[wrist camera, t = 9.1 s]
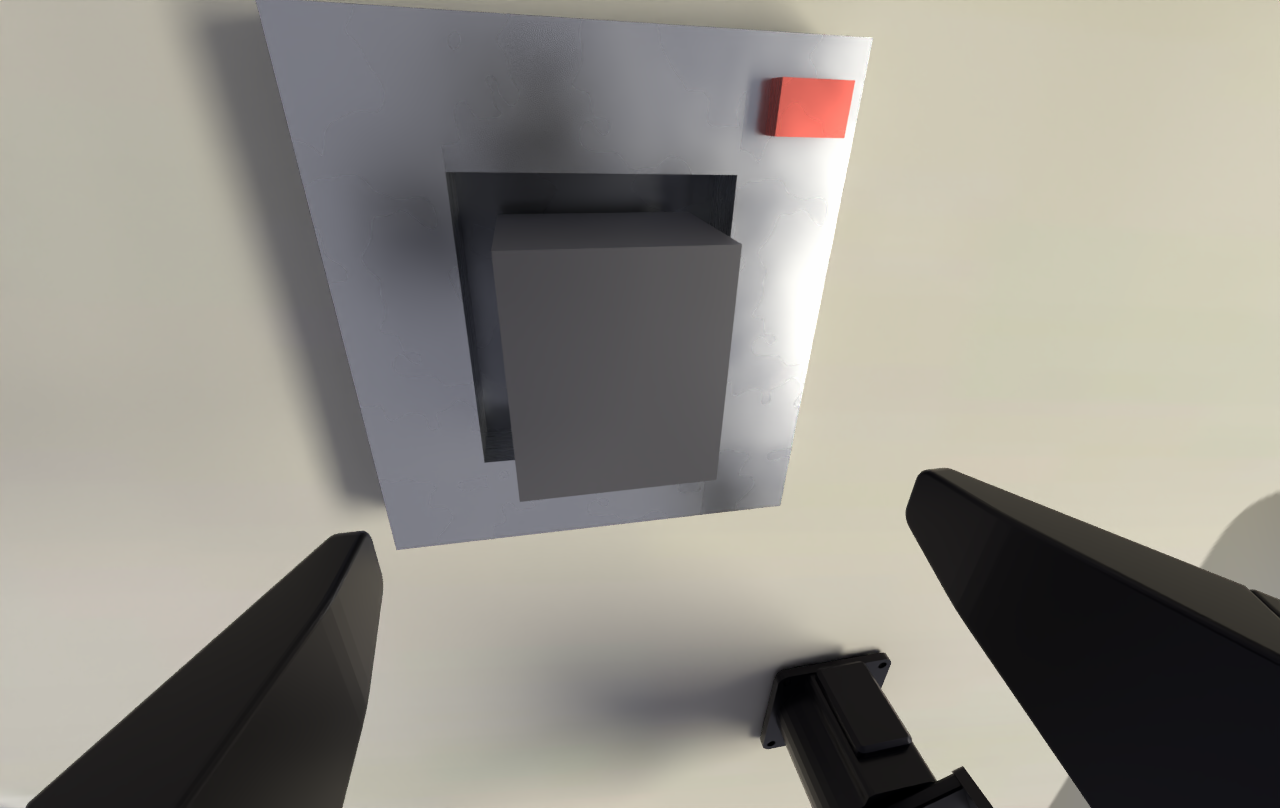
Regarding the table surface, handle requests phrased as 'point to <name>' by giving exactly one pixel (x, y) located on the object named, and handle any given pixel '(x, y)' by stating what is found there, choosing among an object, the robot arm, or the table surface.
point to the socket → (551, 184)
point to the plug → (614, 347)
